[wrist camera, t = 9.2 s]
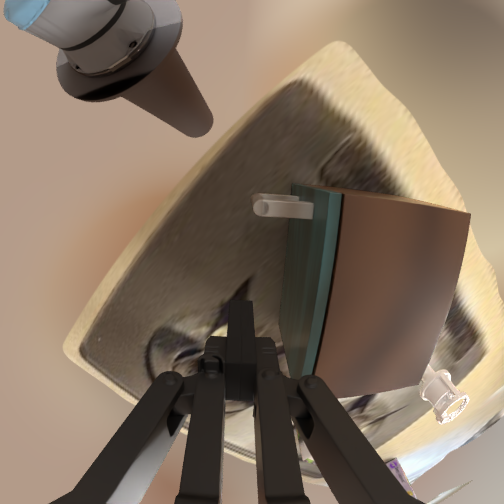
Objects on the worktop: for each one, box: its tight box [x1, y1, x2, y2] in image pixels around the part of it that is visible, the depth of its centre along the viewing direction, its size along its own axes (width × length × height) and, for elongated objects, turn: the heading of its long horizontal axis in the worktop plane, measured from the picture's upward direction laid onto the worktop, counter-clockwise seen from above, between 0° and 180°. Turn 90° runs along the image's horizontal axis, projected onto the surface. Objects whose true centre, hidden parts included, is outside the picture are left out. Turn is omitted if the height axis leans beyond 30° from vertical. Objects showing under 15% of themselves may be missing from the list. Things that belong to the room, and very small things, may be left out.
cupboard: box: [303, 184, 471, 399], centre depth 30 cm, size 14×20×16 cm
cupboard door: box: [251, 183, 342, 380], centre depth 29 cm, size 6×20×16 cm, turn 177°
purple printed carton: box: [385, 458, 417, 499], centre depth 50 cm, size 19×5×18 cm, turn 31°
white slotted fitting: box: [419, 364, 469, 424], centre depth 37 cm, size 7×7×15 cm
